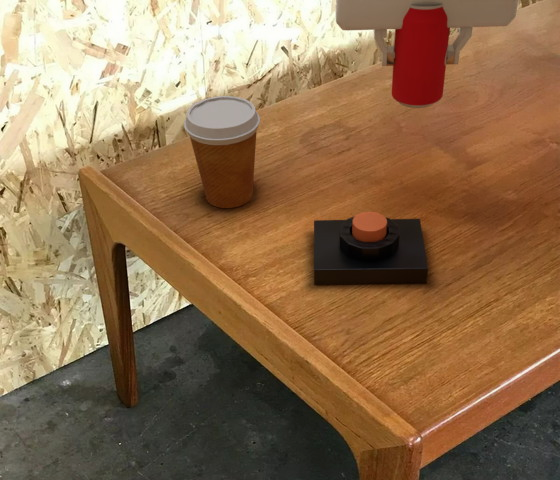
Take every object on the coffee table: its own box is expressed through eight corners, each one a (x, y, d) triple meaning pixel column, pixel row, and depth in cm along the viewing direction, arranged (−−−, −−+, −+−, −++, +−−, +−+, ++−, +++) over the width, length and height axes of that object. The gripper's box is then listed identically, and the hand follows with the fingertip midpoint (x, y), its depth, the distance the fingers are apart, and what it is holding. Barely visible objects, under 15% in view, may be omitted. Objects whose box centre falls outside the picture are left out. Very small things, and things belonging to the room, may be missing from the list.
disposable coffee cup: (254, 171, 111) (248, 89, 102) (273, 207, 104) (268, 122, 96) (187, 184, 109) (176, 101, 101) (202, 221, 103) (191, 136, 94)
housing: (418, 233, 99) (421, 205, 96) (426, 283, 92) (429, 255, 89) (314, 234, 99) (313, 207, 97) (314, 284, 92) (313, 257, 90)
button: (385, 223, 94) (386, 211, 93) (387, 243, 92) (388, 230, 90) (351, 224, 95) (351, 211, 93) (352, 243, 92) (353, 231, 91)
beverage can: (443, 89, 99) (454, -12, 91) (441, 112, 95) (452, 9, 86) (392, 87, 100) (399, -13, 92) (388, 110, 96) (395, 7, 87)
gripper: (333, -52, 83) (332, 77, 93) (532, -58, 82) (510, 73, 92) (332, -71, 87) (331, 54, 97) (521, -77, 86) (501, 50, 96)
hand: (419, 63), depth 94 cm, fingers closed on beverage can, 6 cm apart
